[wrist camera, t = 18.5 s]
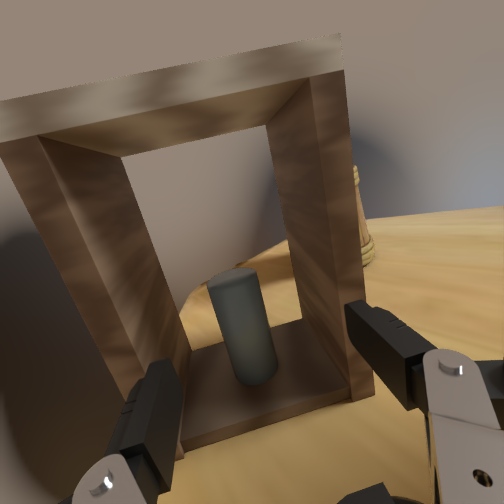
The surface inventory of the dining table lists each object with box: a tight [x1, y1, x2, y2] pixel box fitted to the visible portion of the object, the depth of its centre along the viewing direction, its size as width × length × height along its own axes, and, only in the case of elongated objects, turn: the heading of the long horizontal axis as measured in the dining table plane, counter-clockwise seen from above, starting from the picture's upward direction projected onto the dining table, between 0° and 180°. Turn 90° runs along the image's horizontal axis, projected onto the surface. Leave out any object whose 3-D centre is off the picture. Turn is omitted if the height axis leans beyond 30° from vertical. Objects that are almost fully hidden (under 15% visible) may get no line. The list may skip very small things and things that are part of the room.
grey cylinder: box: [207, 268, 278, 385], centre depth 28 cm, size 6×6×12 cm
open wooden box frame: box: [0, 33, 375, 461], centre depth 26 cm, size 22×14×30 cm, turn 99°
